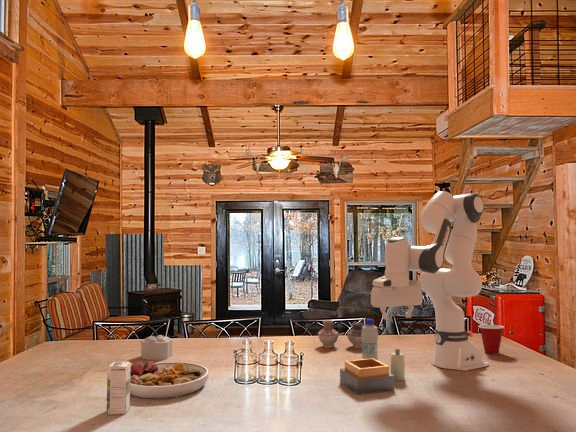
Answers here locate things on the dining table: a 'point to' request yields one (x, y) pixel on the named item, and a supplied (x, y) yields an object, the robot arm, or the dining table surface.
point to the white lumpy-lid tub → (156, 348)
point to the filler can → (398, 365)
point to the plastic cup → (491, 337)
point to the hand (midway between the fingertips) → (397, 318)
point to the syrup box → (118, 388)
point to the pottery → (331, 335)
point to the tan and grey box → (366, 376)
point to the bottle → (369, 340)
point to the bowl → (166, 379)
